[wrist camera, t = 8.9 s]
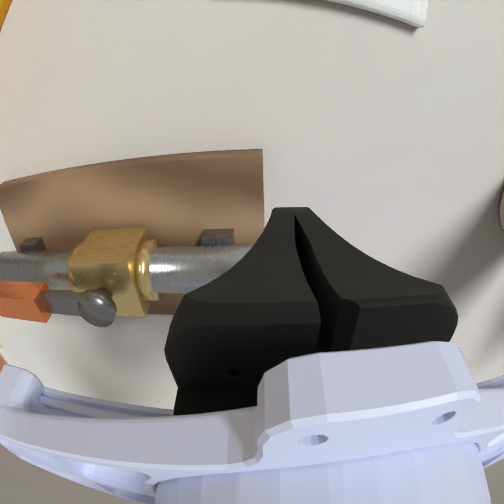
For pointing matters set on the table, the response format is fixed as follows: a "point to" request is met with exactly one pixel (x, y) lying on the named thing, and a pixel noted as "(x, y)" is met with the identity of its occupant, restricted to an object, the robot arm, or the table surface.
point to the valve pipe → (125, 265)
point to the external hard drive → (394, 9)
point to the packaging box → (3, 10)
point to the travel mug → (502, 211)
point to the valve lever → (55, 303)
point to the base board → (141, 202)
